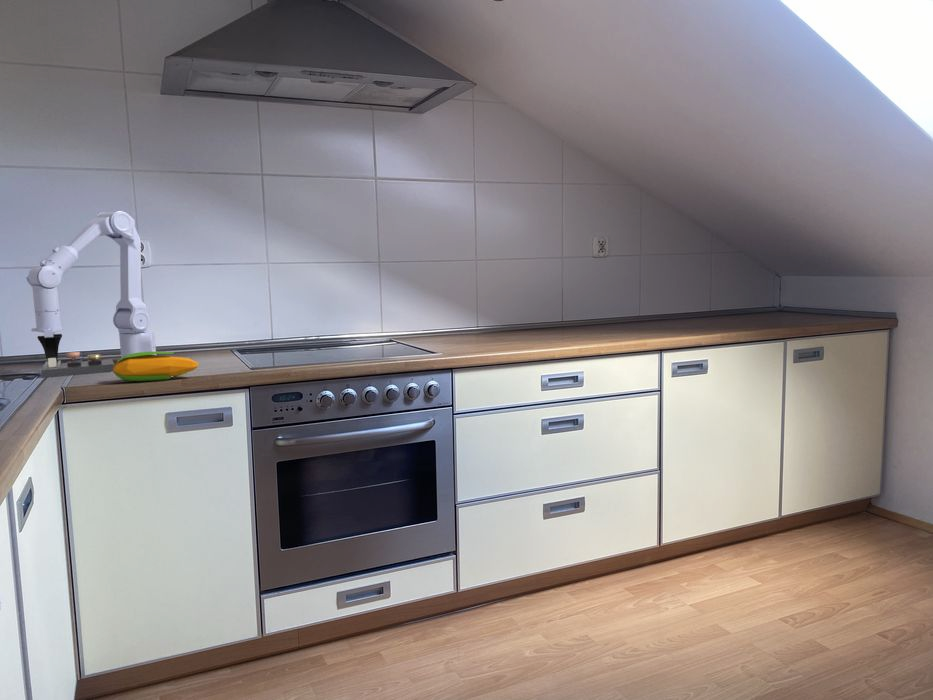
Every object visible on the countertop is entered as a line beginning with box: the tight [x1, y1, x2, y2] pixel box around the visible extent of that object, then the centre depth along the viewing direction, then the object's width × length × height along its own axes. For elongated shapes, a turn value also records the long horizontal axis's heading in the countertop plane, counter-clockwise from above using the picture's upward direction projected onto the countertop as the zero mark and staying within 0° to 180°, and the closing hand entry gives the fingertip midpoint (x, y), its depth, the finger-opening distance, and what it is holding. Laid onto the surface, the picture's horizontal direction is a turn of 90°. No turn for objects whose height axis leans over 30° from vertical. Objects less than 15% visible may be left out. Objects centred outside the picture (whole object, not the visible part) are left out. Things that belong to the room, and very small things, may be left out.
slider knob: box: [48, 358, 58, 367], centre depth 185 cm, size 2×2×2 cm
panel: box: [41, 358, 115, 379], centre depth 190 cm, size 17×11×3 cm, turn 119°
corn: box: [113, 351, 200, 383], centre depth 175 cm, size 7×8×20 cm
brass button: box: [87, 353, 102, 361], centre depth 192 cm, size 3×3×2 cm
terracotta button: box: [65, 351, 81, 361], centre depth 189 cm, size 3×3×2 cm
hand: (52, 361), depth 187 cm, fingers closed
